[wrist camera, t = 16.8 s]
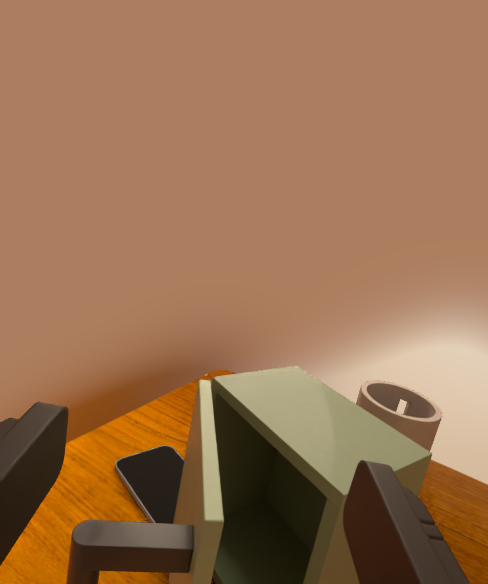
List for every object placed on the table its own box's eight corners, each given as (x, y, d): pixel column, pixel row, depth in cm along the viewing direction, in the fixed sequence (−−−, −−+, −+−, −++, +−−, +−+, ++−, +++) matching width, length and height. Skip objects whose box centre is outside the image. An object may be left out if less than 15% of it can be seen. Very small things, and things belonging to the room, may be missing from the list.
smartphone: (169, 443, 48) (248, 530, 37) (168, 449, 48) (247, 538, 37) (111, 461, 43) (184, 567, 32) (110, 468, 43) (182, 576, 32)
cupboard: (283, 699, 25) (344, 495, 22) (183, 530, 36) (212, 376, 33) (374, 622, 31) (432, 453, 28) (264, 497, 42) (296, 365, 39)
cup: (342, 503, 44) (370, 410, 41) (332, 454, 53) (354, 374, 50) (422, 522, 43) (455, 429, 41) (398, 469, 52) (424, 390, 50)
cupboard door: (40, 753, 21) (65, 513, 17) (101, 528, 35) (121, 370, 31) (175, 746, 22) (224, 521, 19) (182, 532, 36) (210, 380, 32)
